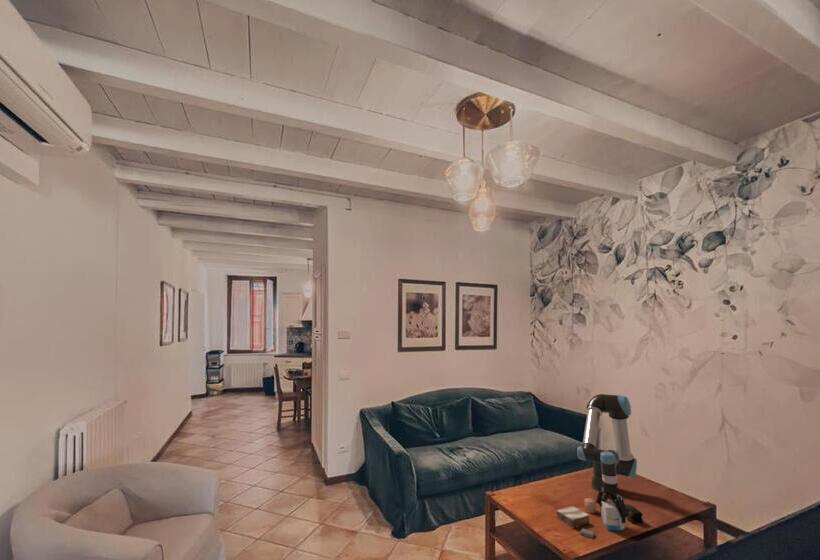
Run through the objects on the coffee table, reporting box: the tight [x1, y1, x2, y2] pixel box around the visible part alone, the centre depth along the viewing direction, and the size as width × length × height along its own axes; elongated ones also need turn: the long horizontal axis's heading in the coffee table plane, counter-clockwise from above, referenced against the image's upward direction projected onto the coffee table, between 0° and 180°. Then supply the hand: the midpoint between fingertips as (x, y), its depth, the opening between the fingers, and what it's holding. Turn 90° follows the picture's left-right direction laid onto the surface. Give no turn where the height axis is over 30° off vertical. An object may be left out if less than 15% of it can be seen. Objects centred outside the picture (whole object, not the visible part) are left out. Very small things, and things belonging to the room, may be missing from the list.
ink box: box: [602, 500, 625, 532], centre depth 213 cm, size 8×8×12 cm
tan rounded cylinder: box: [584, 497, 597, 514], centre depth 230 cm, size 6×6×6 cm
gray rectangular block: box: [579, 528, 595, 539], centre depth 205 cm, size 6×4×2 cm, turn 51°
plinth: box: [556, 505, 590, 529], centre depth 220 cm, size 12×12×4 cm
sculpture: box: [624, 503, 644, 524], centre depth 221 cm, size 13×6×7 cm, turn 11°
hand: (612, 523), depth 213 cm, fingers closed on ink box, 11 cm apart
